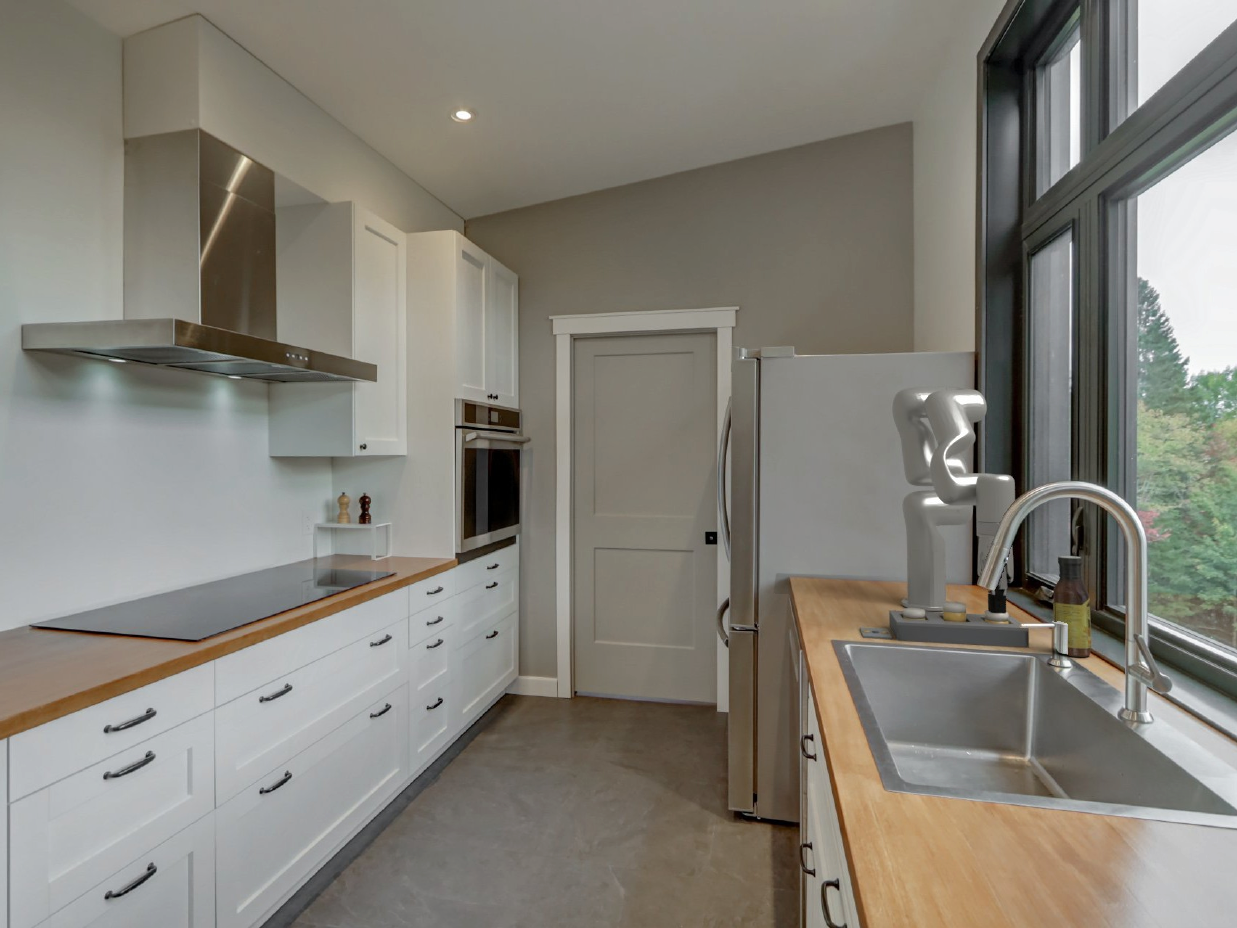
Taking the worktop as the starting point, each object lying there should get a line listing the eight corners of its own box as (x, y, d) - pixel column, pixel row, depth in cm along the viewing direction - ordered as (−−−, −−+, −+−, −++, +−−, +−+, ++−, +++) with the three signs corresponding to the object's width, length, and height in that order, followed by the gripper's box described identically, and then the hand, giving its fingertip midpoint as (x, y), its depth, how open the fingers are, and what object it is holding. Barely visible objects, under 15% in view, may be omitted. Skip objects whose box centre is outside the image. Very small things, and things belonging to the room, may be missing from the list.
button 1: (901, 630, 154) (901, 607, 154) (923, 631, 153) (922, 608, 153) (905, 635, 149) (904, 611, 149) (927, 636, 148) (926, 612, 148)
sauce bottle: (1097, 658, 131) (1096, 559, 131) (1062, 657, 133) (1061, 558, 133) (1081, 649, 138) (1080, 554, 138) (1048, 648, 139) (1047, 554, 139)
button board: (889, 627, 158) (889, 610, 158) (1010, 633, 151) (1010, 615, 151) (897, 640, 146) (897, 622, 146) (1028, 647, 140) (1028, 628, 140)
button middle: (941, 624, 152) (941, 601, 152) (963, 625, 151) (963, 601, 151) (946, 629, 147) (945, 605, 147) (968, 631, 146) (968, 606, 146)
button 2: (982, 633, 150) (982, 609, 150) (1004, 634, 148) (1004, 610, 148) (988, 638, 145) (987, 613, 145) (1011, 640, 144) (1011, 614, 144)
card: (859, 628, 157) (859, 626, 157) (886, 630, 155) (886, 627, 155) (863, 637, 149) (863, 635, 149) (891, 639, 148) (891, 636, 148)
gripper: (968, 526, 155) (969, 604, 155) (986, 532, 140) (988, 619, 140) (1004, 527, 153) (1005, 606, 153) (1026, 533, 138) (1027, 620, 138)
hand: (997, 612), depth 146 cm, fingers closed
